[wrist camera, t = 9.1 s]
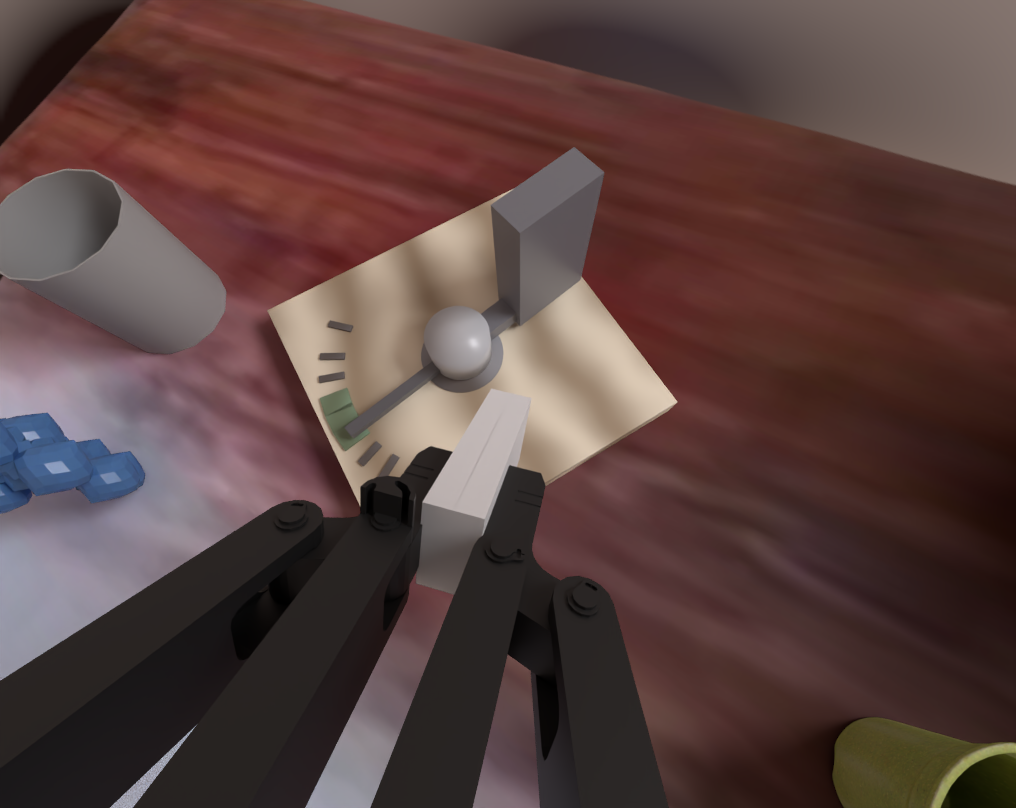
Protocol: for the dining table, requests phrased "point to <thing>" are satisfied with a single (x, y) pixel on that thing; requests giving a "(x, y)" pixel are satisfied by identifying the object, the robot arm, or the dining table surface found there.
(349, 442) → the dial plate
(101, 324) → the cup
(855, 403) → the dining table surface
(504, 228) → the lever dial gauge
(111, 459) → the grapes
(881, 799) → the plant pot
